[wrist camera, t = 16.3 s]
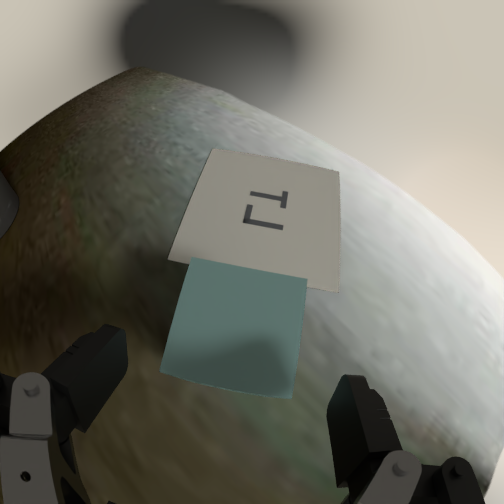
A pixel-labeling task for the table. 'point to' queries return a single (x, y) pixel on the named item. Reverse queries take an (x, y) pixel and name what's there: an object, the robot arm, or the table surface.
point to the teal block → (237, 329)
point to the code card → (264, 218)
